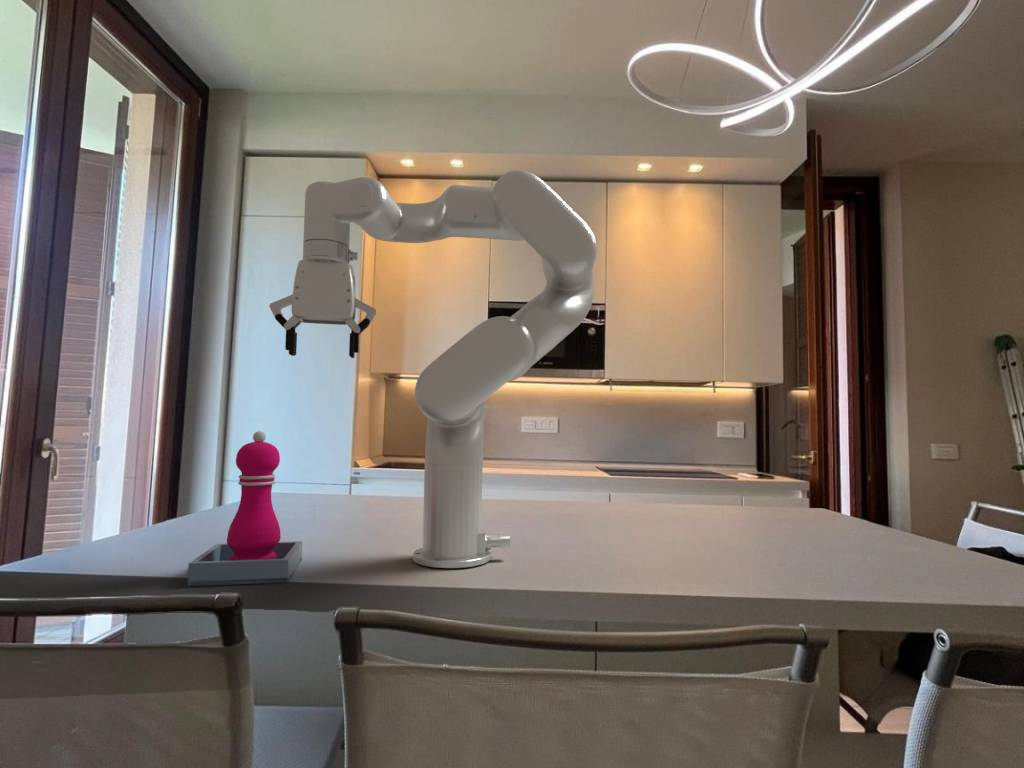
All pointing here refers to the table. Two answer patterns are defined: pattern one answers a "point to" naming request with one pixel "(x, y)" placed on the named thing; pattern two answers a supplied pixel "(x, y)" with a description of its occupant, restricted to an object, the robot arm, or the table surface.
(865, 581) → the table surface
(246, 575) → the tray
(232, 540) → the pepper mill
